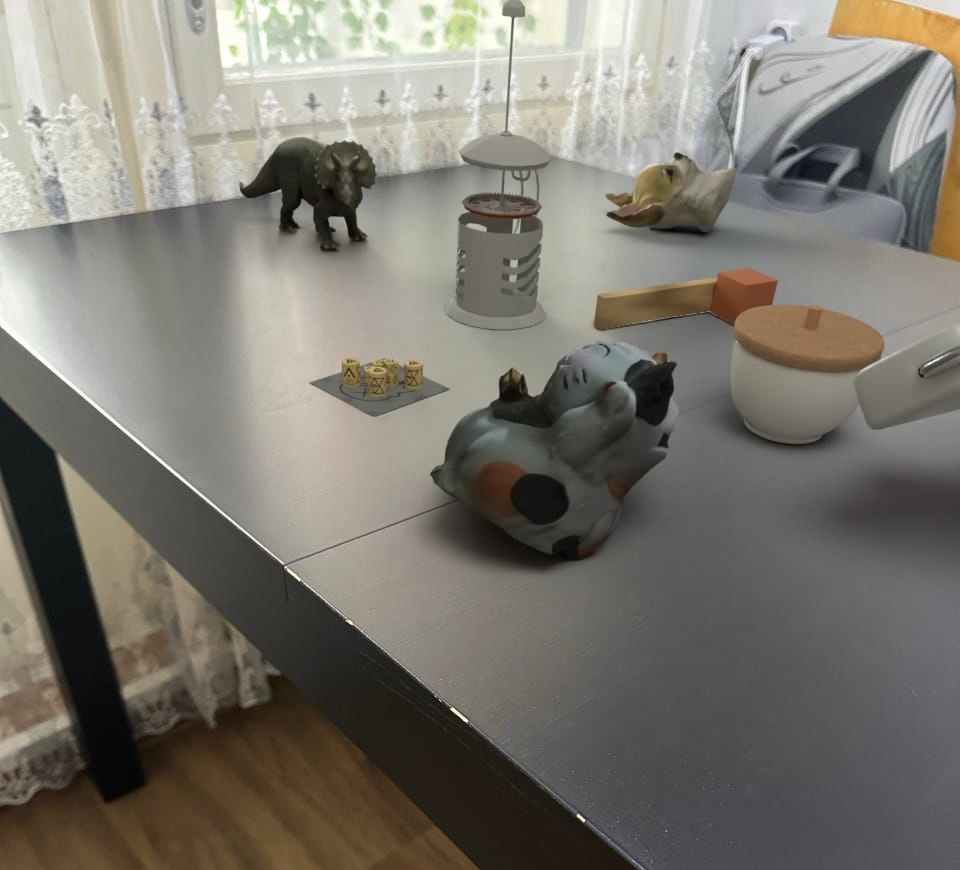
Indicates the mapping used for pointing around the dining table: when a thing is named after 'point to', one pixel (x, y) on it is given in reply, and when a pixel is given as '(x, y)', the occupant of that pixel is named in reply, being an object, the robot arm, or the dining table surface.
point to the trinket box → (798, 369)
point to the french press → (500, 231)
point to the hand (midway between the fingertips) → (907, 408)
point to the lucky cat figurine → (564, 447)
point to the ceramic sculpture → (674, 196)
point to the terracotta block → (741, 292)
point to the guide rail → (654, 302)
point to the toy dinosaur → (317, 183)
